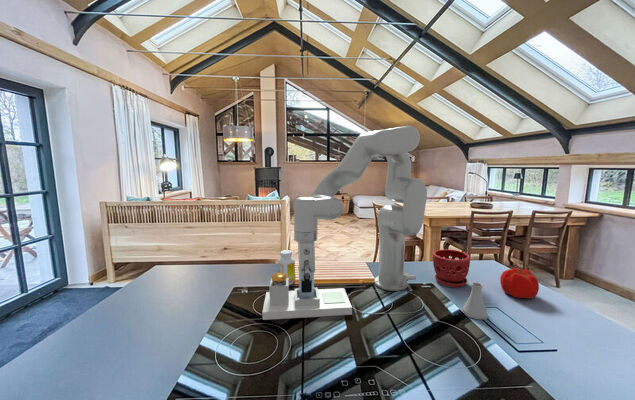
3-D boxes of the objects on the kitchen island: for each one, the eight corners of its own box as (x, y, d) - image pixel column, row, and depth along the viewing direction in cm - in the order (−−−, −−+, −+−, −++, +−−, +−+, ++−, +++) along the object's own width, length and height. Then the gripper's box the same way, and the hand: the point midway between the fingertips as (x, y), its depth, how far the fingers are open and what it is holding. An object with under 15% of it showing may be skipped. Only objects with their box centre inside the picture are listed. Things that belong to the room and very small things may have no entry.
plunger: (287, 295, 91) (286, 272, 90) (286, 302, 87) (286, 278, 85) (272, 295, 91) (272, 273, 90) (271, 303, 86) (271, 279, 85)
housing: (344, 294, 98) (344, 271, 96) (351, 314, 85) (352, 287, 84) (266, 298, 95) (265, 274, 94) (262, 319, 82) (261, 292, 81)
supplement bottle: (296, 278, 111) (296, 249, 109) (293, 286, 104) (293, 254, 103) (280, 278, 112) (280, 248, 110) (276, 285, 105) (275, 254, 103)
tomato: (521, 304, 90) (524, 279, 89) (491, 288, 102) (493, 265, 101) (546, 301, 92) (549, 276, 91) (514, 285, 104) (517, 263, 103)
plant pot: (448, 273, 116) (450, 246, 114) (475, 286, 103) (478, 257, 102) (424, 278, 111) (426, 250, 109) (450, 292, 99) (452, 261, 97)
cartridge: (313, 295, 92) (313, 259, 90) (315, 302, 87) (314, 264, 86) (298, 295, 92) (298, 259, 90) (299, 303, 87) (298, 265, 85)
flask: (484, 310, 87) (487, 281, 86) (490, 322, 80) (493, 291, 79) (459, 306, 90) (462, 278, 88) (463, 318, 83) (466, 287, 81)
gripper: (320, 242, 78) (319, 297, 81) (315, 228, 95) (314, 274, 98) (294, 243, 78) (294, 298, 80) (294, 228, 95) (294, 274, 97)
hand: (305, 285), depth 89 cm, fingers open, 9 cm apart
